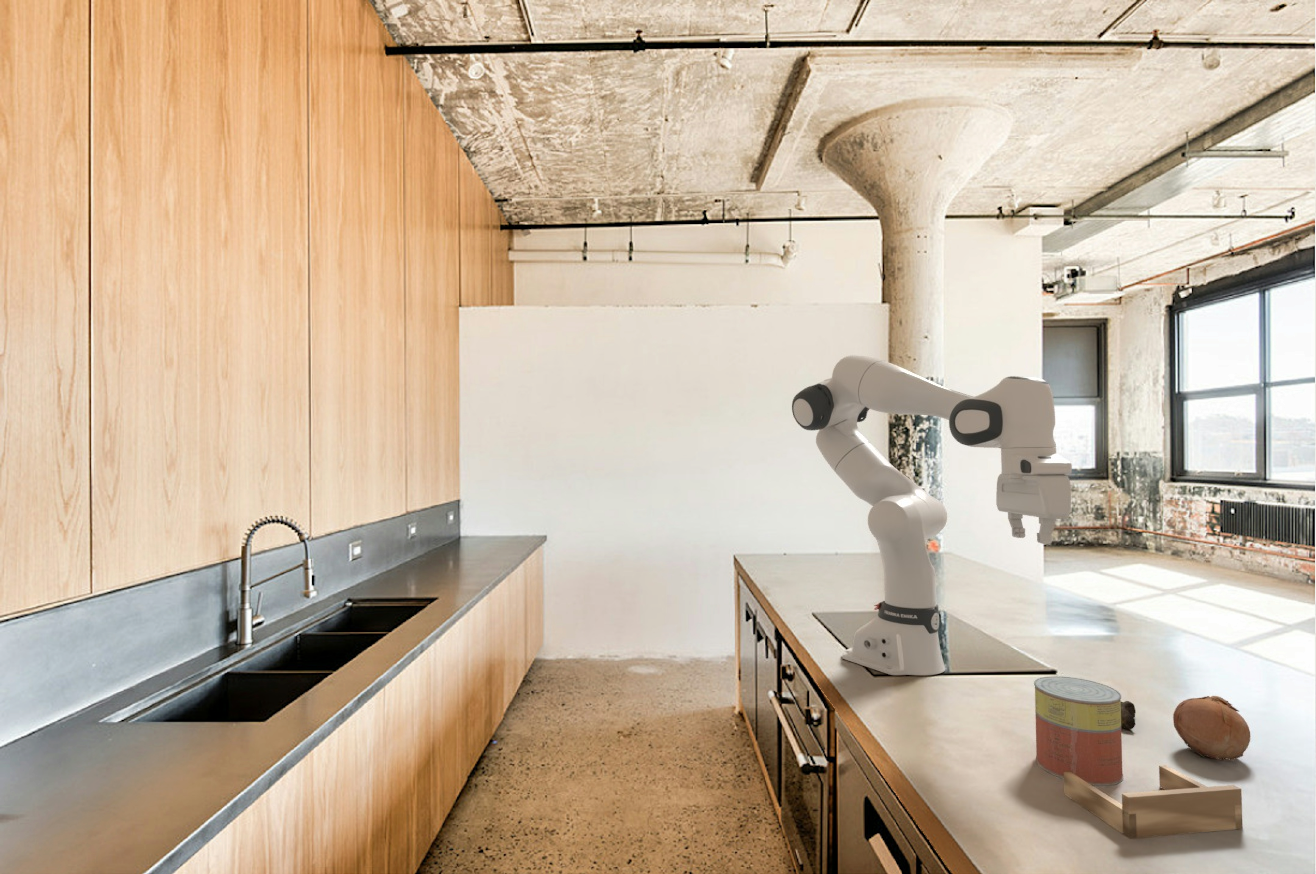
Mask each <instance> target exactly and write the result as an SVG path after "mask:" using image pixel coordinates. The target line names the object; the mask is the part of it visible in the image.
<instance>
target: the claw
mask: <svg viewBox="0 0 1316 874" xmlns="http://www.w3.org/2000/svg"><path fill="white" fill-rule="evenodd" d="M1135 718H1136V708H1135V704H1134V703H1133V702H1131V701H1128V700H1125V701H1121V729H1127V730H1133V729H1134V728H1135V726H1136V721H1135Z"/></svg>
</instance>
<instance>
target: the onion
mask: <svg viewBox="0 0 1316 874" xmlns="http://www.w3.org/2000/svg"><path fill="white" fill-rule="evenodd" d="M1239 712H1240V710H1238V709H1237V708H1236V707H1235V706H1233V704H1232V703H1230V702H1229V701H1228V700H1226V699H1224V698H1223V697H1221V696H1219V695H1218V696H1217V695H1212V696H1209V695H1206V696H1202V697H1196V698H1195V697H1193V698H1187V699H1185V700H1182V702H1180V703H1179V704H1178V705H1177V706H1176V708H1175V709H1174V712H1173V717H1172V719H1173V726H1174V728H1175V729H1174V730H1176V732H1177V734H1178V736H1179V737H1180V738H1181V740H1183V742H1184V745H1185V746H1186V747H1188V749H1189V750H1191V751H1193V752H1194V753H1195V754H1198V755H1199V756H1201V757H1202V758H1205V757H1207V758H1210V759H1213V760H1216V759H1217V760H1219V761H1220V760H1221V761H1223V762H1224V760H1227V759H1228V760H1229V761H1236V759H1239V758H1241V757H1243V756H1244V753H1245V752H1246V750H1247V749H1248V747H1249V745H1250V742H1251V731H1250V727H1249V725H1248V722H1246V720H1245V719H1244V717H1243V716H1242V715H1241V714H1240V713H1239Z"/></svg>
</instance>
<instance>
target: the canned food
mask: <svg viewBox="0 0 1316 874" xmlns="http://www.w3.org/2000/svg"><path fill="white" fill-rule="evenodd" d="M1033 684H1034V685H1033V686H1034V701H1035V702H1034V705H1035V706H1034V707H1035V746H1036V747H1035V749H1036V751H1035V752H1036V757H1035V762H1036V763H1038V764H1037V765H1038V766H1039V767H1040V768H1041V769H1042V768H1043V769H1042V770H1044V771H1046V772H1048V773H1049V774H1050V775H1053V776H1055V777H1058V778H1060V779H1063V780H1064V772H1071V773H1073V774H1074V775H1076V776H1078V777H1079V778H1081V779H1082V780H1084V781H1086V782H1087V783H1089V784H1090V785H1092V786H1094V787H1098V786H1099V787H1107V786H1108V787H1109V786H1115V785H1117V784H1120V783H1122V782H1123V780H1124V774H1123V746H1122V744H1123V743H1122V741H1123V740H1122V728H1121V702H1122V701H1121V700H1122V694H1121V693H1120V692H1119V691H1118V690H1116V689H1115V688H1113V687H1110V686H1109V685H1105V684H1103V683H1100V682H1096V681H1093V680H1088V679H1083V678H1077V677H1070V676H1069V677H1067V676H1044V677H1040V678H1039V677H1038V678H1036V679H1035V680H1034V682H1033Z"/></svg>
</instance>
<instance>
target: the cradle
mask: <svg viewBox="0 0 1316 874" xmlns="http://www.w3.org/2000/svg"><path fill="white" fill-rule="evenodd" d="M1158 772H1159V773H1158V775H1159V779H1158V780H1159V788H1160V789H1161V790H1151V791H1139V792H1137V791H1135V792H1124V793H1121V803H1120V802H1119V801H1118V800H1116V799H1114V798H1112V797H1111V796H1110V795H1107V794H1106V793H1105V792H1103V791H1101V790H1100V789H1098V788H1097V787H1096V786H1094V785H1090V784H1089V783H1087V782H1086V781H1084V780H1082V779H1081V778H1079V777H1078V776H1076V775H1074V774H1073V773H1071V772H1064V779H1063V788H1064V789H1063V790H1064V792H1063V793H1064V795H1066V796H1067V797H1068V798H1070V799H1071V800H1073V802H1076V803H1077V804H1079V805H1080V806H1082V808H1084V809H1085V810H1087V811H1089V812H1090V813H1092V814H1093V815H1094V816H1095V817H1096V816H1097V817H1098V818H1099V819H1100V820H1101V821H1103V822H1105V823H1106V824H1107V825H1109V826H1110V827H1112V828H1113V829H1115V830H1116V831H1118V832H1119V833H1121V834H1122V835H1124V836H1125V837H1127V838H1129V839H1136V838H1137V839H1138V838H1139V839H1140V838H1151V837H1161V836H1162V837H1163V836H1173V835H1185V834H1196V833H1197V834H1198V833H1209V832H1219V831H1231V830H1243V828H1244V827H1243V805H1242V804H1243V802H1242V801H1243V798H1242V788H1241V787H1239V786H1236V785H1234V784H1231V785H1228V784H1227V785H1217V786H1216V785H1215V786H1206V785H1204V784H1202V783H1201V782H1198V780H1195V779H1193V778H1191V777H1189V776H1188V775H1185V774H1184V773H1181V772H1179V771H1177V770H1175V769H1174V768H1171V767H1170V766H1167V765H1166V764H1164V765H1163V764H1162V765H1158Z"/></svg>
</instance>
